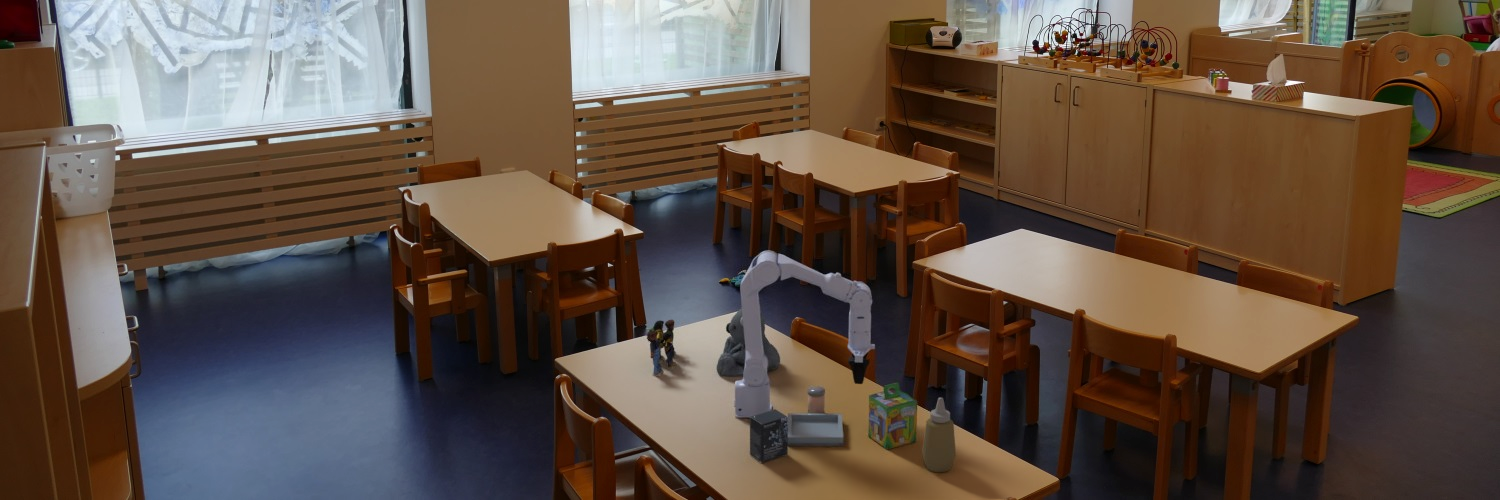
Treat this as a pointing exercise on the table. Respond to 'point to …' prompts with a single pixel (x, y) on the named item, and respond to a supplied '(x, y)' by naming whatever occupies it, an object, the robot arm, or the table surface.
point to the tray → (815, 429)
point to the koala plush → (743, 348)
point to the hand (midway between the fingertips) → (858, 377)
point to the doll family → (662, 345)
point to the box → (768, 435)
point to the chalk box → (892, 417)
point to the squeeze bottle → (939, 440)
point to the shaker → (816, 399)
